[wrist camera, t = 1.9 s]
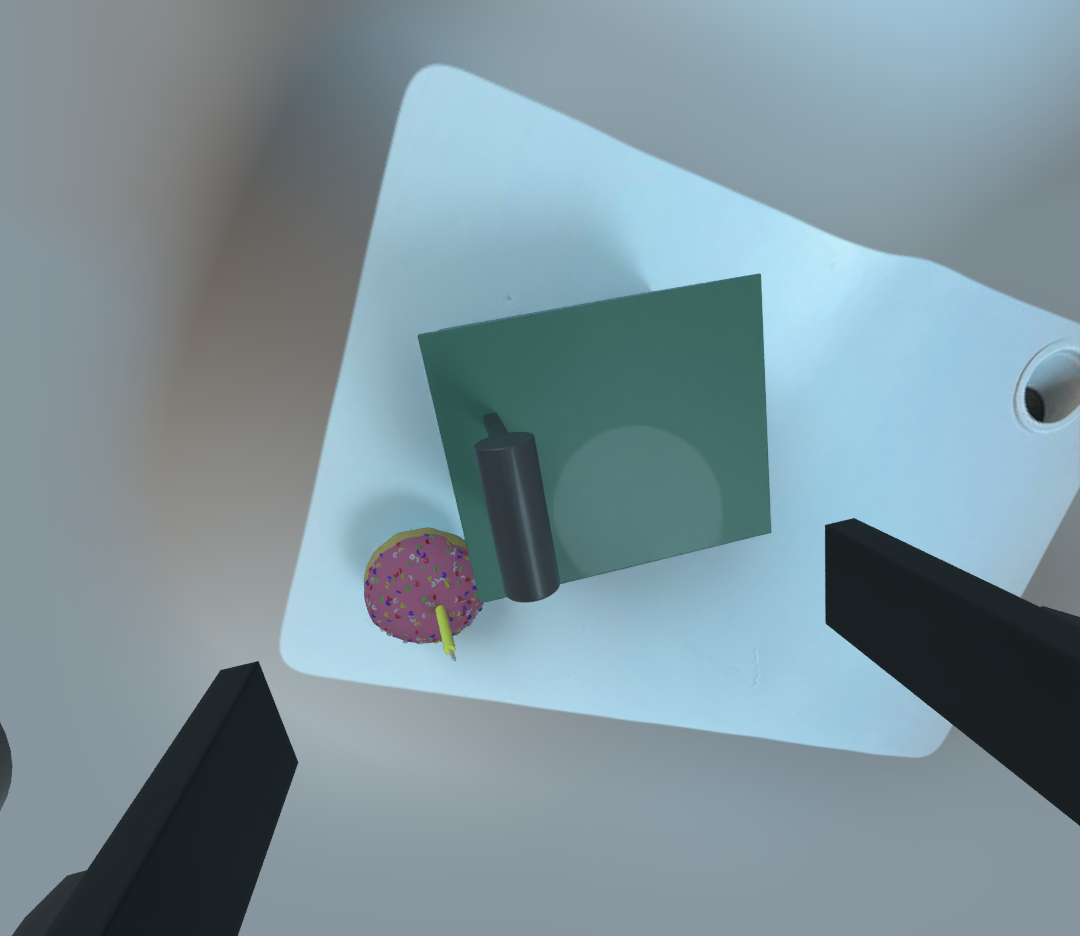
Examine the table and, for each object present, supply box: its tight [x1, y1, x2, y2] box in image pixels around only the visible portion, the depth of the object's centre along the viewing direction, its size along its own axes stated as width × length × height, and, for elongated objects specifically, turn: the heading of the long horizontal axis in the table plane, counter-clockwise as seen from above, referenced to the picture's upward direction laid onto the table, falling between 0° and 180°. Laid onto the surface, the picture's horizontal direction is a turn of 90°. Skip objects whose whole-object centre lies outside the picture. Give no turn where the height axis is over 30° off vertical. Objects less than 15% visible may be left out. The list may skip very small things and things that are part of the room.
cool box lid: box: [418, 274, 771, 603], centre depth 23 cm, size 17×14×8 cm
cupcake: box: [364, 528, 483, 661], centre depth 35 cm, size 9×8×12 cm
